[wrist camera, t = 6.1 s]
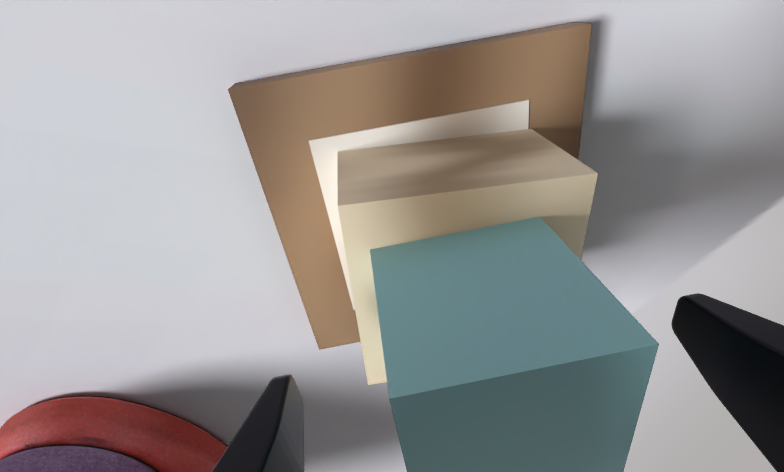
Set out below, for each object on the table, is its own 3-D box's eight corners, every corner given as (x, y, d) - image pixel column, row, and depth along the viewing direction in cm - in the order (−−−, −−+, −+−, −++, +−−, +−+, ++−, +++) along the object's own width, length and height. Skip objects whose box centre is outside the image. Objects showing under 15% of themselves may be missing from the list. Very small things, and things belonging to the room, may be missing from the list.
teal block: (539, 216, 10) (658, 343, 7) (534, 338, 13) (619, 486, 9) (369, 249, 10) (389, 398, 6) (395, 366, 13) (420, 527, 9)
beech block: (531, 128, 13) (598, 173, 10) (515, 282, 17) (561, 355, 13) (337, 151, 13) (337, 205, 10) (361, 304, 16) (367, 384, 13)
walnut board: (574, 22, 13) (592, 23, 12) (553, 287, 19) (564, 302, 18) (235, 83, 13) (227, 89, 12) (320, 333, 18) (319, 350, 17)
